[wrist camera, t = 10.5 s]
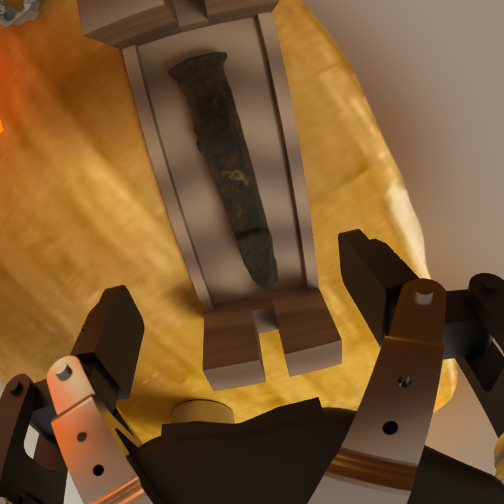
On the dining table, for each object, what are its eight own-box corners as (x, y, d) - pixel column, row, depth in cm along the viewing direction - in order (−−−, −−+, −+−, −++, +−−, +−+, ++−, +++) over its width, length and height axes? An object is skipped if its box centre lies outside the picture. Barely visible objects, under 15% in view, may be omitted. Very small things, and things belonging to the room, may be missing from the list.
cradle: (315, 299, 32) (341, 363, 24) (213, 322, 32) (213, 391, 24) (259, -13, 17) (279, -60, 9) (122, 21, 17) (76, -7, 10)
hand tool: (172, 68, 19) (160, 62, 15) (225, 53, 19) (226, 43, 15) (235, 278, 29) (238, 310, 25) (278, 268, 28) (287, 299, 24)
